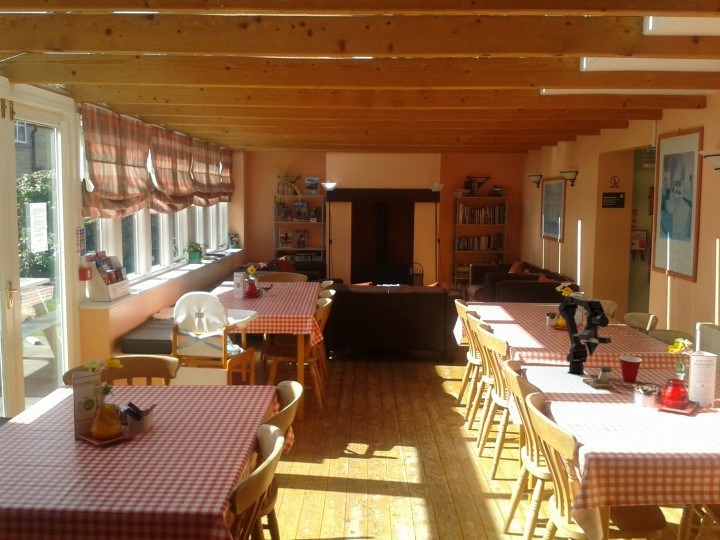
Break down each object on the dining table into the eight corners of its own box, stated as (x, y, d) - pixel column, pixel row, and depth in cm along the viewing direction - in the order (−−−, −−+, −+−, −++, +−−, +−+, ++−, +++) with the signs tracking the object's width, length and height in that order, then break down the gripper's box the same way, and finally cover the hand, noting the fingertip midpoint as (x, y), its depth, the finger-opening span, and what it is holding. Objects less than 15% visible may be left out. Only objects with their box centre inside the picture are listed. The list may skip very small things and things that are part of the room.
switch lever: (596, 381, 346) (600, 366, 340) (605, 381, 346) (610, 366, 341) (597, 384, 344) (602, 369, 339) (606, 384, 345) (611, 369, 339)
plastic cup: (630, 384, 354) (631, 360, 353) (613, 379, 364) (614, 356, 363) (645, 382, 359) (647, 358, 358) (628, 378, 369) (629, 355, 368)
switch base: (582, 381, 357) (583, 373, 357) (600, 381, 358) (600, 373, 357) (594, 388, 342) (595, 380, 341) (613, 389, 342) (613, 380, 342)
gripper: (567, 323, 365) (565, 354, 366) (600, 327, 351) (599, 359, 352) (579, 322, 372) (578, 352, 373) (612, 326, 358) (611, 357, 359)
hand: (591, 355), depth 364 cm, fingers closed
